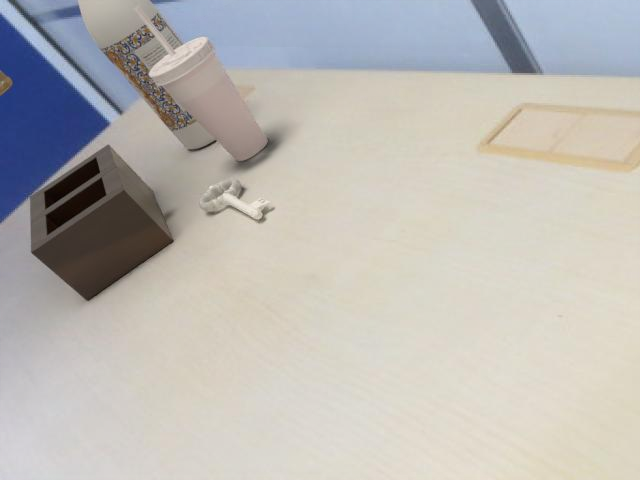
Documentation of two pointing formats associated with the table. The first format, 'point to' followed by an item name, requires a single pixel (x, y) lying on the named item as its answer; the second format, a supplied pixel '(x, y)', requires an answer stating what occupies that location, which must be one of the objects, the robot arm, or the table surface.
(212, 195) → the key
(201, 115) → the smoothie
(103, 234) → the two-slot toaster box
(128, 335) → the table surface
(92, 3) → the bath foam
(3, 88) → the sprinkles bottle
